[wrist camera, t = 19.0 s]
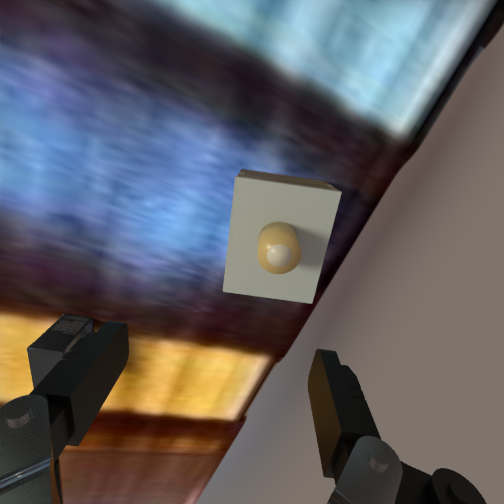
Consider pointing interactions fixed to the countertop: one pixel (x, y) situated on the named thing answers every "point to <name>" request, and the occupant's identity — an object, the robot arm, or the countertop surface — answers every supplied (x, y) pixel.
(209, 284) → the countertop surface
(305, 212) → the lid
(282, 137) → the countertop surface
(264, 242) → the tan rounded piece
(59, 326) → the small box
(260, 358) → the countertop surface
